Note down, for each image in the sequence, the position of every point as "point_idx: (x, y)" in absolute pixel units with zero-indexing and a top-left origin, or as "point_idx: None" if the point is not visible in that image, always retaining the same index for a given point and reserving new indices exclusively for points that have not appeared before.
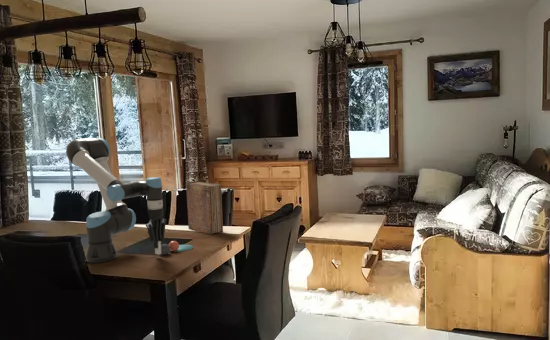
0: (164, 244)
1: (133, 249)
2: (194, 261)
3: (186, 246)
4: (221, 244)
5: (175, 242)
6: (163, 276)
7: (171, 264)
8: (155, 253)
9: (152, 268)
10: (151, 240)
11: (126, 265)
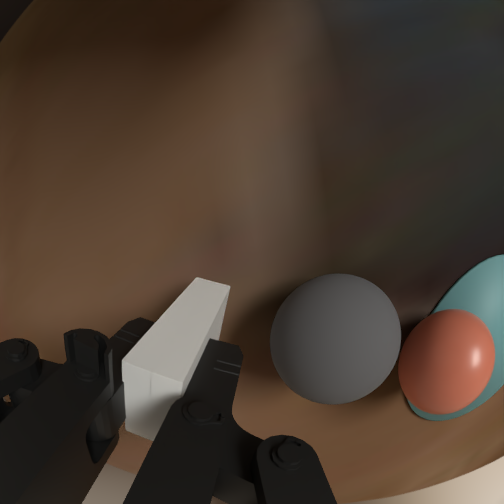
0: (333, 384)
1: None
2: None
3: (500, 363)
4: (471, 469)
5: (444, 412)
6: None
7: None
8: (194, 283)
9: None
10: (7, 363)
11: (21, 145)
